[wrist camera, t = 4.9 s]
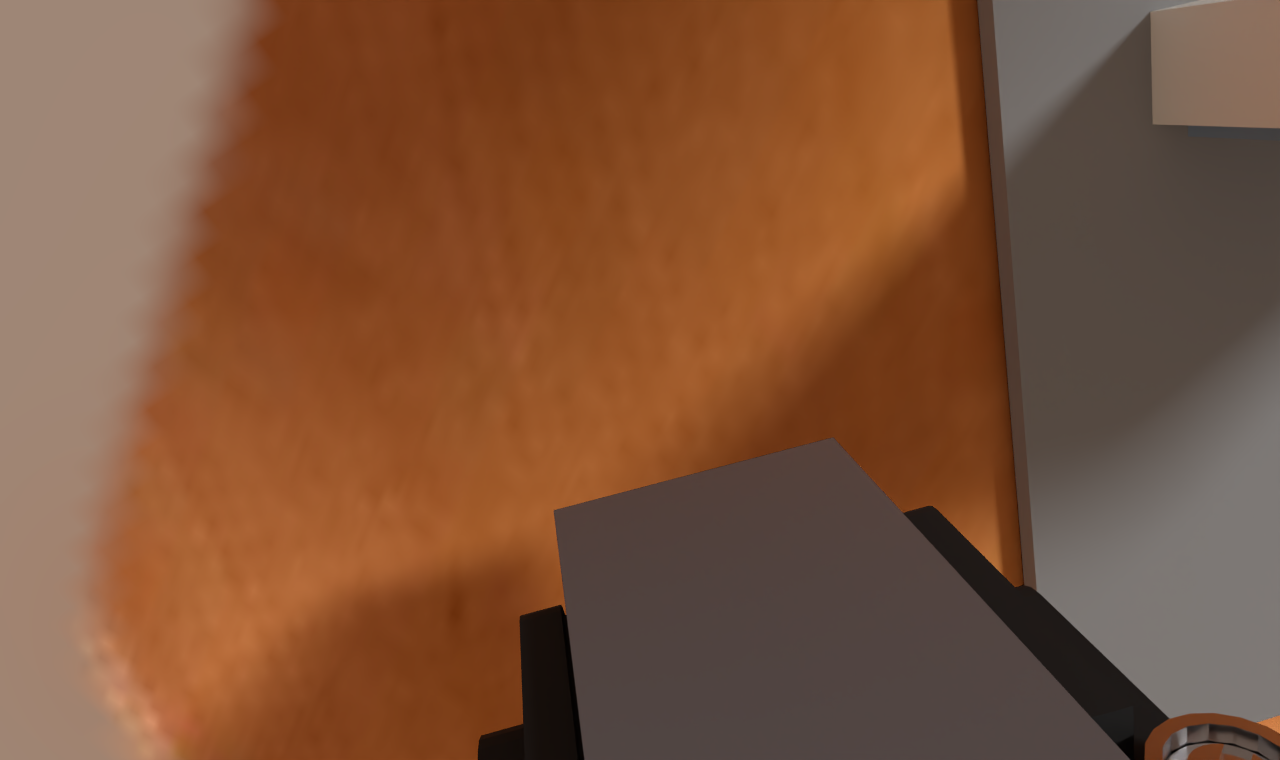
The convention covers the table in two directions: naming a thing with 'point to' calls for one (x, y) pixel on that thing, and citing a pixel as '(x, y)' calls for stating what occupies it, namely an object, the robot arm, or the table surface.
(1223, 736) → the robot arm
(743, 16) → the table surface
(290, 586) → the table surface
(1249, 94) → the tile
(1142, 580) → the mat
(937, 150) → the table surface
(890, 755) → the block
